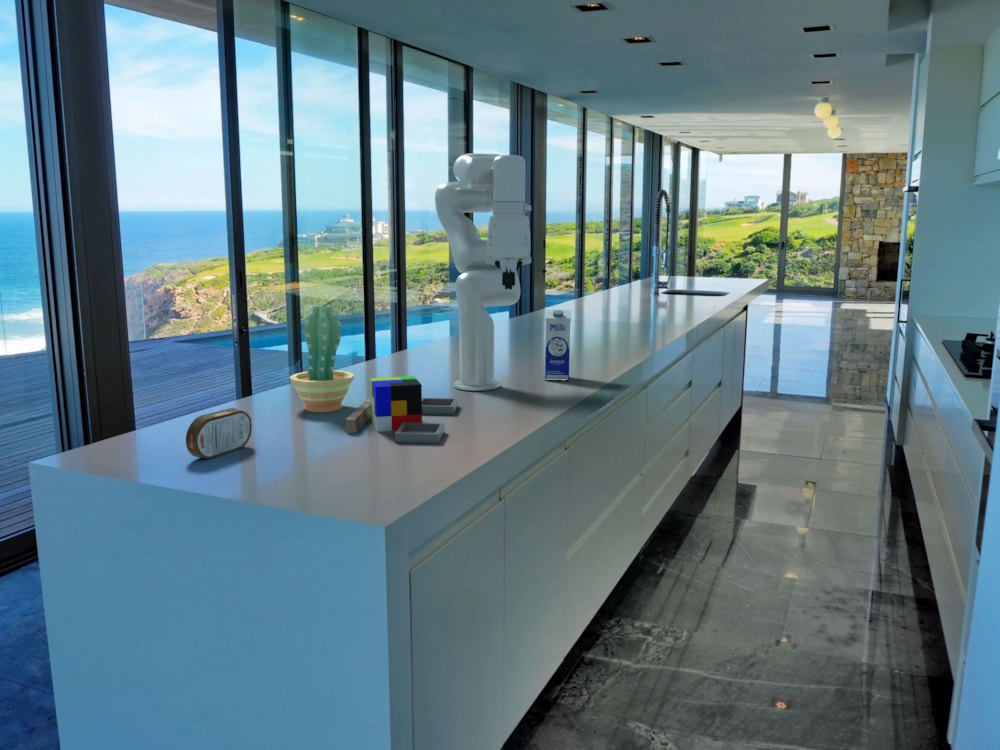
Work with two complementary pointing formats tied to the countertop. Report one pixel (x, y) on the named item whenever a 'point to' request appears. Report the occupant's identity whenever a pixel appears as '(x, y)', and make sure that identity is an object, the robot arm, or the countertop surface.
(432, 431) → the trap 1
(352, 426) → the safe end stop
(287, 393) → the countertop surface
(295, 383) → the potted cactus
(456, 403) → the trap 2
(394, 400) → the puzzle toy
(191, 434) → the tin
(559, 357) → the milk carton
